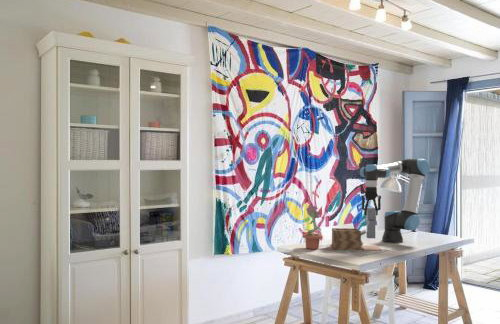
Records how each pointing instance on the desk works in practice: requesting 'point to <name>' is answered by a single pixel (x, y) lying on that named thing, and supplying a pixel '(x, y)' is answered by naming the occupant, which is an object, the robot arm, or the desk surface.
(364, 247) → the tile
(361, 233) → the door handle
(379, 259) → the desk surface
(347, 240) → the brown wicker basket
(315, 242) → the decorative flower
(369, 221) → the grey tall block
